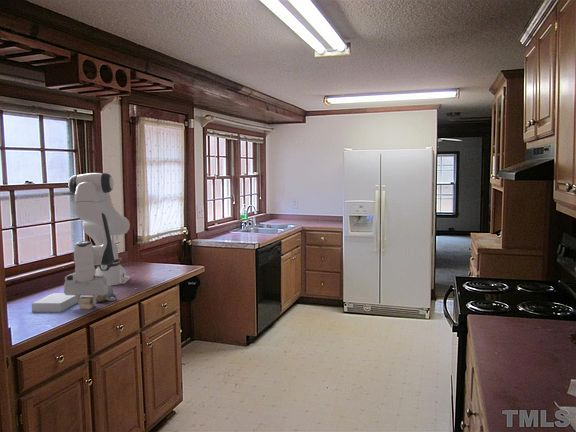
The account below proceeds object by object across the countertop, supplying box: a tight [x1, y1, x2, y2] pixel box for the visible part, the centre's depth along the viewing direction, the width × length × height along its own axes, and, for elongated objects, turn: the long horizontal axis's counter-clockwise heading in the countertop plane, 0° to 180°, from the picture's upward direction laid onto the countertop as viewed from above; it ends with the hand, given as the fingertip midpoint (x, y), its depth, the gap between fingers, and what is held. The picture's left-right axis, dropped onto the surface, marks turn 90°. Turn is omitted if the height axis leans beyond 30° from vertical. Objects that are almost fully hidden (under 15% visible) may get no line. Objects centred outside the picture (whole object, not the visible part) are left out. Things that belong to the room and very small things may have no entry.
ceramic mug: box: [96, 284, 118, 303], centre depth 238 cm, size 11×8×8 cm
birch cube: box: [78, 295, 96, 310], centre depth 226 cm, size 5×5×5 cm
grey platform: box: [31, 292, 78, 313], centre depth 229 cm, size 18×14×4 cm
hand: (87, 304), depth 226 cm, fingers closed on birch cube, 5 cm apart
